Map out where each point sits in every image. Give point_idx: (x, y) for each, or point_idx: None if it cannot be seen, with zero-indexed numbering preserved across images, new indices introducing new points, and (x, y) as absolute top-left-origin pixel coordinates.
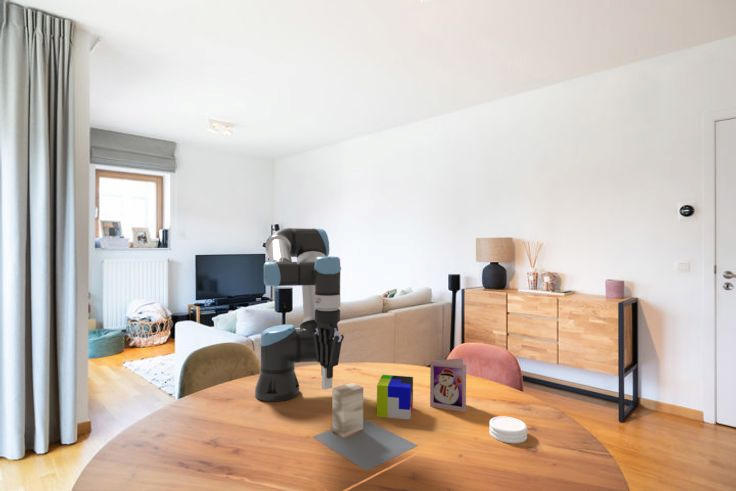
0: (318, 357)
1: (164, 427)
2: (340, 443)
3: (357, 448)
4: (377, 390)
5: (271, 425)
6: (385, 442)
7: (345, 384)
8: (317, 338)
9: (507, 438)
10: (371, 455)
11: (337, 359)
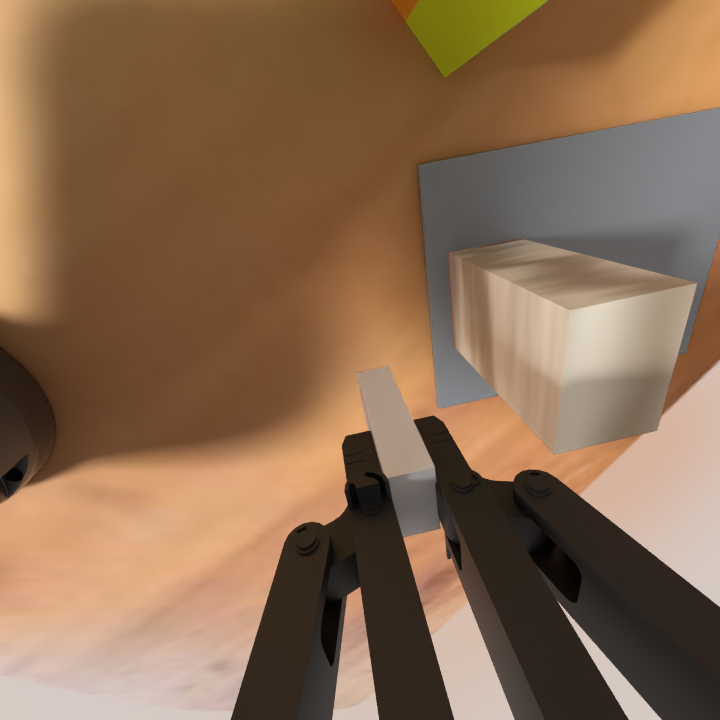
0: (340, 628)
1: (177, 667)
2: None
3: None
4: (530, 11)
5: (284, 484)
6: (642, 210)
7: (565, 367)
8: None
9: None
10: None
11: (611, 539)
